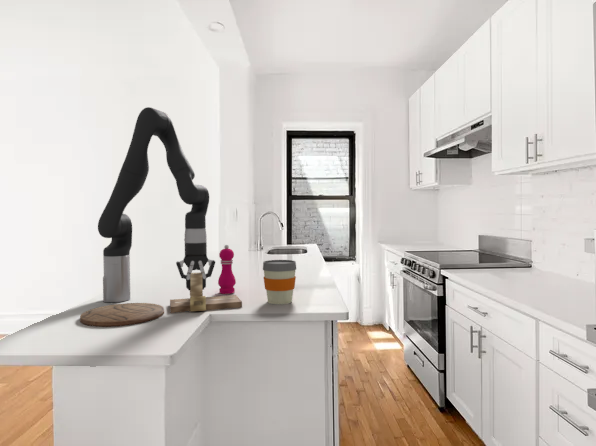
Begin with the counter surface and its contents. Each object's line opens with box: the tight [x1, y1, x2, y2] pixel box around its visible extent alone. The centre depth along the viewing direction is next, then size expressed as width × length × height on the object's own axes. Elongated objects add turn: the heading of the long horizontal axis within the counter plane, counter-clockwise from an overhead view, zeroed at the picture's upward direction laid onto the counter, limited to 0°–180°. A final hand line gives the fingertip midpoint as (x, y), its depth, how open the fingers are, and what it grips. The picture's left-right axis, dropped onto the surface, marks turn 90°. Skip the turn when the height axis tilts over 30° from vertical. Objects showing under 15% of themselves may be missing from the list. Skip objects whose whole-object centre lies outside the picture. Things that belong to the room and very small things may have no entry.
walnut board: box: [169, 294, 243, 314], centre depth 147 cm, size 24×12×2 cm, turn 108°
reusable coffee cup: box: [262, 259, 297, 305], centre depth 153 cm, size 12×13×15 cm
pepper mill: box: [217, 244, 237, 295], centre depth 171 cm, size 7×7×20 cm
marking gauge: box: [189, 272, 207, 312], centre depth 144 cm, size 5×13×11 cm, turn 19°
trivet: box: [79, 302, 165, 328], centre depth 133 cm, size 25×25×2 cm
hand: (196, 289), depth 146 cm, fingers closed on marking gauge, 4 cm apart
